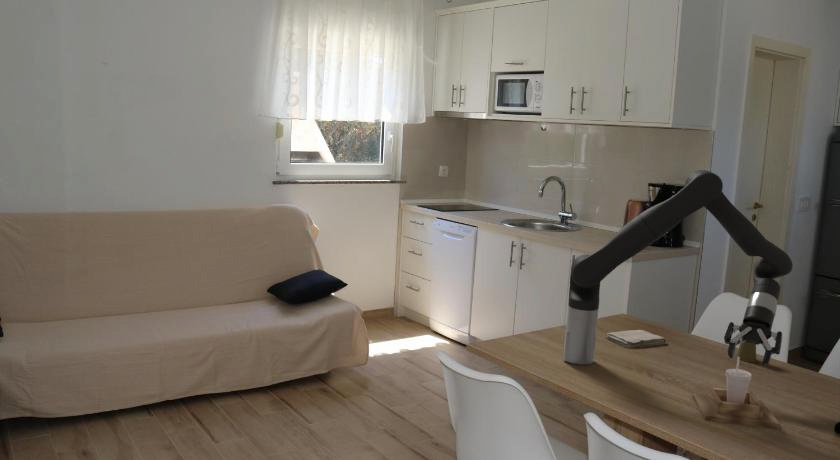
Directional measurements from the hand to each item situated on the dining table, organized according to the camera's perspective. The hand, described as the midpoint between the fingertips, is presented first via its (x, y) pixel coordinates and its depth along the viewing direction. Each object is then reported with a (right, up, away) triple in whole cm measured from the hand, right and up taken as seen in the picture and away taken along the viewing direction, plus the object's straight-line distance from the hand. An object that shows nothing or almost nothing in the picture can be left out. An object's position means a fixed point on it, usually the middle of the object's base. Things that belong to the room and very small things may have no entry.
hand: (747, 360), depth 199 cm
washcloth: (-15, -3, +53) cm, 55 cm away
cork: (+18, -7, +40) cm, 44 cm away
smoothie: (-6, -11, -7) cm, 15 cm away
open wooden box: (-7, -12, -7) cm, 16 cm away
